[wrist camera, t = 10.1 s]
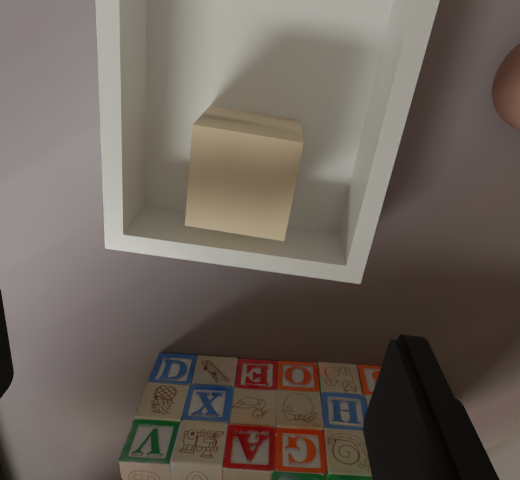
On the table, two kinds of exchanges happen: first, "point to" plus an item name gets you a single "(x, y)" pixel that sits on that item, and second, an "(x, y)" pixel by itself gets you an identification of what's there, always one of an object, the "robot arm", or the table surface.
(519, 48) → the smooth tan pebble
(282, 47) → the tote
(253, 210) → the cube
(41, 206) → the table surface
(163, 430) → the stack of blocks
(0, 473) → the computer keyboard
